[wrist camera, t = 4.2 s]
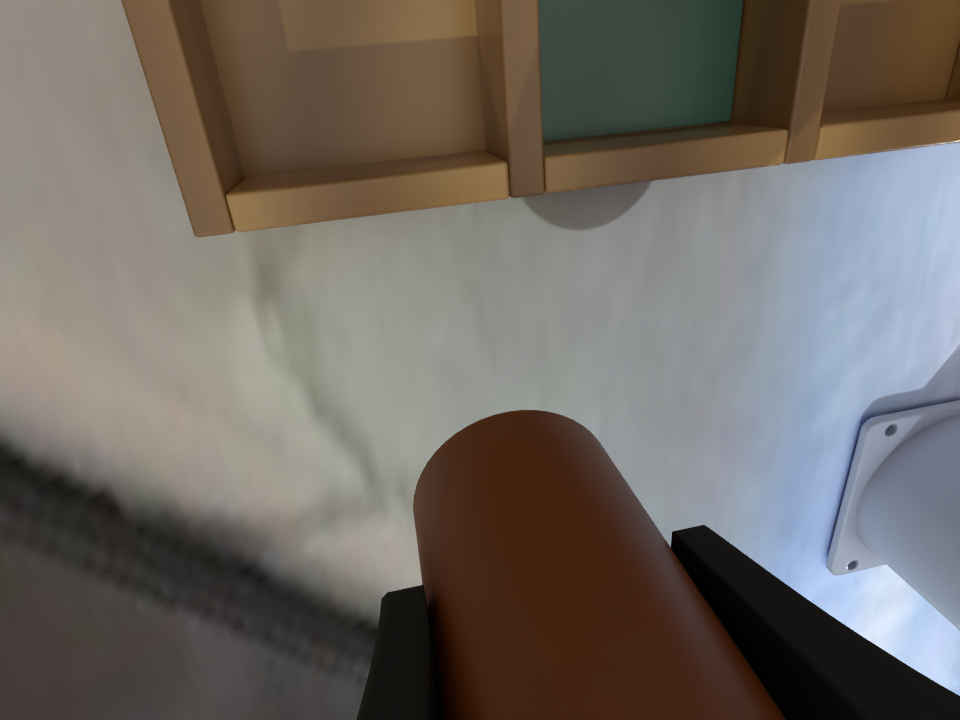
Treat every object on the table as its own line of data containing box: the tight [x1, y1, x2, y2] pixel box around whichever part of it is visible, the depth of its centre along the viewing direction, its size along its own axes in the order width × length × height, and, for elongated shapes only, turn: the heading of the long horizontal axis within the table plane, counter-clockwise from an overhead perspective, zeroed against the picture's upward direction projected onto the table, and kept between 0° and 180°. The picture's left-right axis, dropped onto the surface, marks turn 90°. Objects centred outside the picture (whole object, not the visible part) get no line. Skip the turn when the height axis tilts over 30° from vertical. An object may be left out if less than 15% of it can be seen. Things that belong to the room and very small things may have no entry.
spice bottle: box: [413, 410, 787, 720], centre depth 9 cm, size 4×4×8 cm
